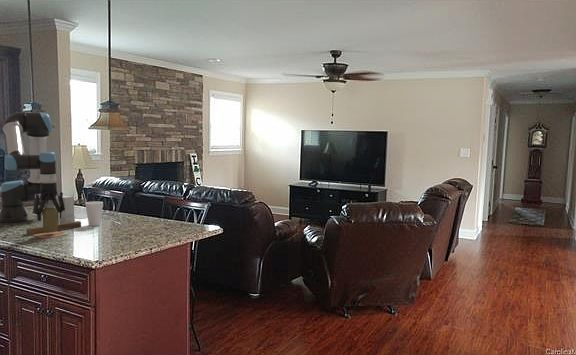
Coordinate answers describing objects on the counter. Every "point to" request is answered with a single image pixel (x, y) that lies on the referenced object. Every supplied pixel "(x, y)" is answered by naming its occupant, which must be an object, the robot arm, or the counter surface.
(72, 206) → the skincare box
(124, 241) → the counter surface
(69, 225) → the rail
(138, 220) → the counter surface
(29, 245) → the counter surface
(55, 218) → the squeeze bottle
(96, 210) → the foam cup
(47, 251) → the counter surface
